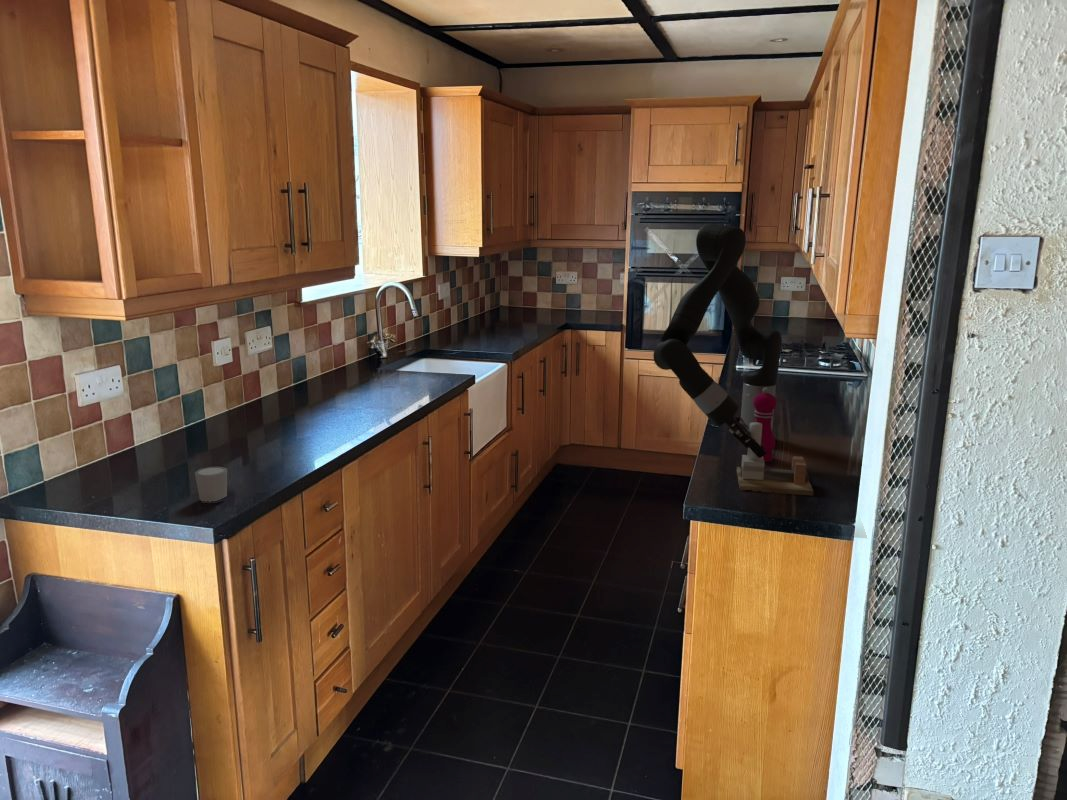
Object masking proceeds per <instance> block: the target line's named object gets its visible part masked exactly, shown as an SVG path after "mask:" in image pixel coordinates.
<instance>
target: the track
mask: <svg viewBox="0 0 1067 800" xmlns="http://www.w3.org/2000/svg"><path fill="white" fill-rule="evenodd" d="M791 459H792V461H791V470H790V469H778V468H777V469H776V468H765V467H764V477H763V480H757V479H743V478H742V471H743V468H742V467H741V466H736V475H737V483H738V486H739V487H738V488H740V489H739V491H745V490H752V491H751V492H758V491H761V493H772V492H774V494H775V493H776V494H786V495H787V494H789V495H801V496H802V495H803V496H814V489H813V487H812V484H811V482H810V480H809V472H808V471H807V463H806V461H805V459H804V457H803V456H796V455H795V456H794V455H793V456H792V458H791Z"/></svg>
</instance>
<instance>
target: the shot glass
mask: <svg viewBox="0 0 1067 800" xmlns="http://www.w3.org/2000/svg"><path fill="white" fill-rule="evenodd" d="M194 476H195V477H194V478H195V480H196V481H195V482H196V487H197V492H198V496H199V501H200V500H201V501H205V502H206V501H209V502H211V501H217V500H220V499H222V498H224V497H226V496H227V495H228V494H227V493H228V492H227V491H228V490H227V489H228V469H227V468H226V467H225V466H224V467H222V466H209V467H202V468H199V469H198V470H196V471H195V472H194ZM227 497H228V496H227Z"/></svg>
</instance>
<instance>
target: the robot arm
mask: <svg viewBox="0 0 1067 800" xmlns="http://www.w3.org/2000/svg"><path fill="white" fill-rule="evenodd" d="M697 231H698V232H697V234H696V240H695V246H696V251H697V254H698V256H699V259H700V260H701V261H702V263H703V265H704V266H705V268H706V270H707V271H708V273H707V274H705V276H704V277H703V278H701V279H700V280H699V281H698V282H696V283H695V284H694V285H693V286H692V287H690V288H689V289H688V290H687V291H686V292H685V293H684V295H683V296H682V297H681V299H680V300H679V302H678V304H677V307H676V308H675V310H674V312H673V314H672V317H671V319H670V322H669V324H668V326H667V328H666V329H665V330H664V332H663V333H662V335H661V337H660V338H659V340H658V342H657V343H656V346H655V348H654V351H653V357H652V358H653V361H654V362H653V363H655V365H656V366H657V367H658V368H659V369H661V370H665V371H669V370H671V372H672V373H673V374H674V375H675V376H676V377H677V378H678V380H679V381H678V383H679V386H680V387H681V388H682V389H683V391H684V392H685V393H686V394H687V395H688V396H689V398H691V400H692V401H693V402H694V403H695V405H696V406H697V407H698V408H699V410H700V411H701V412H702V413H703V414H704V415H705V416H706V417H707V418H708V419H709V420H710V422H712V423H713V425H714V426H716V427H720V426H722V425H723V424H726V426H727V430H728V432H729V433H730V434H731V435H733V438H734V437H735V438H736V439H737V440H738V441H739V442H740V443H741V444H742V445H743V446H744V447H745V448H746V449H748V448H750V449H751V450H752V451H753V452H754V453H755V454H756V455H757V456H758V458H761V457H763V456H764V455H765V454H766V452H765V450H764V449H765V448H764V446H763V445H762V444H761V446H760V445H759V444H758V443H757V442H756V440H755V439H754V438H753V437H752V436H751V432H750V430H749V428H750V423H752V422H756V416H755V415H754V414H755V410H756V408H755V407H754V404H753V401H754V398H755V397H756V395H758V394H760V393H763V391H762V390H763V389H764V388H768V389H769V394H771V395H773V396H774V397H775V398H776V387H777V386H776V385H777V380H778V379H777V378H778V374H779V367H780V360H781V353H782V347H783V346H782V342H783V341H782V340H783V339H782V335H781V333H780V331H779V330H777V329H770V328H762V327H761V328H759V327H755V326H754V325H753V324H752V321H753V319H754V317H755V316H756V314H757V313H758V309H759V307H760V303H761V302H760V297H759V294H758V292H757V289H756V286H755V284H754V282H753V281H752V279H751V278H750V277H749V276H748V275H747V273H746V272H745V271H743V269H741V268H740V267H738V266H737V263H738V262H739V261H740V259H741V257H742V256H743V253H744V251H745V248H746V241H747V240H746V233H745V231H744V230H743V229H742V228H740V227H738V226H733V225H724V224H717V223H707V224H704V225H702V227H700V228H699V230H697ZM718 293H719V295H720V298H721V301H722V303H723V305H724V308H725V310H726V311H727V313H728V316H729V319H730V321H731V324H732V326H733V329H734V332H735V336H736V339H737V343H738V346H739V350H740V353H741V354H742V356H743V357H744V358H746V359H748V360H753V361H761V362H763V363H762V366H761V367H760V368H758V369H753V370H749V371H746V372H745V373H744V374H743V381H742V382H743V384H742V395H741V396H742V397H741V410H740V415H736V414H737V412H739V408H740V406H739V404H738V403H737V402H736V401H735V400H734V399H733V398H732V396H731V395H730V394H729V393H728V392H727V391H726V390H725V389H724V388H723V387H722V386H721V385H720V384H719V383H718V382H716V381H715V380H714V379H713V378H712V377H711V375H710V374H709V373H708V372H707V371H706V370H705V369H703V367H702V366H701V365H700V362H699V360H698V359H697V358H696V356H695V355H694V353H693V352H692V350H691V349H690V348H689V346H688V344H689V342H690V340H691V339H692V338H693V337H694V336H695V334H696V333H697V331H698V330H699V328H700V326H701V324H702V321H703V319H704V317H705V315H706V313H707V312H708V309H709V307H710V305H711V303H712V302H713V300H714V298H715V297H716V295H717V294H718ZM774 410H775V408H774V409H773V412H774ZM774 414H775V413H773V415H774ZM773 422H774V416H773V417H772V419H771V430H772V431H773V424H774V423H773ZM749 439H750V440H749ZM748 440H749V441H748Z"/></svg>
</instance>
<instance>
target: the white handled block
mask: <svg viewBox="0 0 1067 800" xmlns="http://www.w3.org/2000/svg"><path fill="white" fill-rule="evenodd" d="M749 430H750V432H751V436H752V437H753V438H754V439H755V440H756V442H757V443H758V444H759V445H760V446H761V436H762V424H761V423H757V422H752V423H750V428H749ZM749 440H750V439H749ZM749 440H748V441H749ZM765 465H766V462H764V459H763V457H761V458H758V456H757V455H756V454H755V453H754V452H753V451H752V450H751V449H750V448H747V453H746V454H742V455H741V466H740V467H742V468H743V471H742V478H743V479H757V480H763V477H764V468H765Z"/></svg>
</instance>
